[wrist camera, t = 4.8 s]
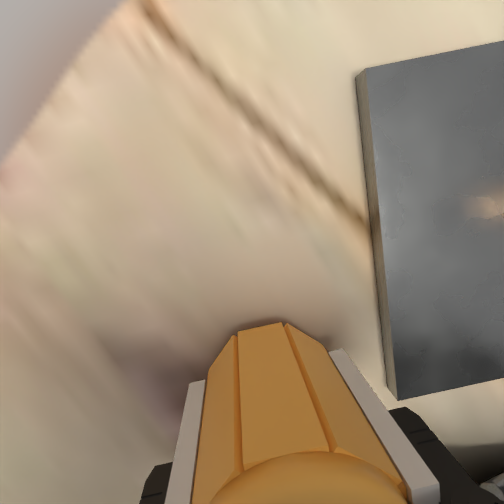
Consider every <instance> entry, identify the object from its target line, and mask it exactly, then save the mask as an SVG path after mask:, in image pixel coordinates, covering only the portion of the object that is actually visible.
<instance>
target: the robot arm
mask: <svg viewBox="0 0 504 504" xmlns="http://www.w3.org/2000/svg"><path fill="white" fill-rule="evenodd" d="M328 355H329V357H330V358H331V360H332V362H333V364H334V365H335V367H336V369H337V370H338V372H339V374H340V375H341V377H342V379H343V381H344V382H345V384H346V386H347V387H348V389H349V391H350V392H351V394H352V396H353V398H354V399H355V401H356V403H357V404H358V406H359V408H360V409H361V411H362V413H363V415H364V416H365V418H366V420H367V421H368V423H369V425H370V426H371V428H372V430H373V432H374V433H375V435H376V437H377V438H378V440H379V442H380V443H381V445H382V447H383V449H384V450H385V452H386V454H387V455H388V457H389V459H390V460H391V462H392V464H393V465H394V467H395V469H396V471H397V472H398V474H399V476H400V477H401V479H402V481H403V483H404V484H405V486H406V491H407V501H408V504H504V501H502V500H500V499H499V498H498V497H497V496H495V495H494V494H493V493H491V492H489V491H487V490H485V489H483V488H481V487H479V486H478V485H477V484H476V483H475V482H474V481H473V480H472V479H471V477H470V476H469V475H468V474H467V473H466V471H465V470H464V469H463V468H462V467H461V465H460V464H459V463H458V462H457V461H456V459H455V458H454V457H453V456H452V455H451V453H450V452H449V451H448V450H447V449H446V447H445V446H444V445H443V444H442V443H441V441H439V440H438V438H437V437H436V435H435V434H434V433H433V432H432V431H430V429H429V427H428V426H427V425H426V424H425V422H424V421H423V420H422V419H421V418H420V416H419V415H417V414H416V413H414V412H413V411H411V410H409V409H408V408H406V407H402V408H397V409H393V410H389V411H387V409H386V408H385V406H384V405H383V404H382V402H381V401H380V399H379V398H378V397H377V395H376V394H375V392H374V391H373V390H372V388H371V387H370V385H369V384H368V383H367V381H366V380H365V378H364V377H363V376H362V374H361V373H360V371H359V370H358V369H357V367H356V366H355V364H354V363H353V362H352V360H351V359H350V357H349V356H348V355H347V353H346V352H345V350H344V349H338V350H334V351H329V352H328ZM206 386H207V384H206V381H205V380H201V381H196V382H192V383H189V388H188V393H187V398H186V402H185V407H184V412H183V417H182V422H181V427H180V431H179V436H178V441H177V446H176V451H175V456H174V460H173V462H170V463H166V464H162V465H157V466H155V467H154V469H153V470H152V472H151V473H150V475H149V477H148V478H147V480H146V482H145V485H144V489H143V492H142V496H141V500H140V503H139V504H192V498H193V490H194V482H195V474H196V466H197V459H198V450H199V442H200V434H201V425H202V417H203V409H204V401H205V394H206Z"/></svg>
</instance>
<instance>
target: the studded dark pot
mask: <svg viewBox="0 0 504 504" xmlns="http://www.w3.org/2000/svg"><path fill="white" fill-rule="evenodd" d="M479 487H481V488H483V489H485V490H487V491H489V492H491V493H493V494H494V495H495V496H497V497H498V498H499V499H500V500H502V501H504V473H501V474H499V475H497V476H495V477H493V478H491V479H489V480H487V481H485V482H484V483H482V484H480V485H479Z"/></svg>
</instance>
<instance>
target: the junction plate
mask: <svg viewBox="0 0 504 504" xmlns="http://www.w3.org/2000/svg"><path fill="white" fill-rule="evenodd" d="M356 88H357V97H358V107H359V117H360V126H361V136H362V145H363V155H364V165H365V174H366V184H367V193H368V203H369V213H370V222H371V232H372V241H373V251H374V260H375V270H376V280H377V289H378V299H379V308H380V318H381V328H382V337H383V347H384V356H385V366H386V376H387V385H388V389H389V390H390V392H391V393H392V394H393V396H394V397H395V398H396V399H397V401H399V400H404V399H409V398H413V397H418V396H422V395H427V394H431V393H436V392H441V391H445V390H450V389H454V388H459V387H463V386H468V385H473V384H477V383H482V382H486V381H491V380H495V379H500V378H504V41H500V42H495V43H490V44H485V45H480V46H475V47H470V48H465V49H460V50H455V51H450V52H445V53H440V54H435V55H430V56H425V57H420V58H415V59H410V60H405V61H400V62H395V63H390V64H385V65H380V66H375V67H371V68H366V69H364V70H363V71H362V72H361V73H360V74H359V75H358V76H357V77H356Z"/></svg>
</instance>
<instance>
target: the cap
mask: <svg viewBox="0 0 504 504" xmlns="http://www.w3.org/2000/svg"><path fill="white" fill-rule="evenodd" d="M192 504H408V501H407V491H406V486H405V484H404V483H403V481H402V479H401V477H400V476H399V474H398V472H397V471H396V469H395V467H394V465H393V464H392V462H391V460H390V459H389V457H388V455H387V454H386V452H385V450H384V449H383V447H382V445H381V443H380V442H379V440H378V438H377V437H376V435H375V433H374V432H373V430H372V428H371V426H370V425H369V423H368V421H367V420H366V418H365V416H364V415H363V413H362V411H361V409H360V408H359V406H358V404H357V403H356V401H355V399H354V398H353V396H352V394H351V392H350V391H349V389H348V387H347V386H346V384H345V382H344V381H343V379H342V377H341V375H340V374H339V372H338V370H337V369H336V367H335V365H334V364H333V362H332V360H331V358H330V357H329V355H328V353H327V351H326V349H325V348H324V347H323V345H322V344H321V343H319V342H318V341H316V340H314V339H313V338H311V337H309V336H308V335H306V334H304V333H303V332H301V331H299V330H298V329H296V328H294V327H293V326H291V325H289V324H288V323H286V325H285V326H284V327H283V324H282V322H280V323H275V324H270V325H266V326H261V327H256V328H252V329H247V330H242V331H238V337H237V336H235V335H232V337H231V338H230V340H229V341H228V342H227V344H226V345H225V347H224V348H223V350H222V351H221V352H220V354H219V355H218V357H217V358H216V360H215V361H214V363H213V364H212V365H211V367H210V368H209V373H208V378H207V386H206V394H205V401H204V409H203V417H202V425H201V434H200V442H199V450H198V459H197V466H196V474H195V482H194V490H193V498H192Z"/></svg>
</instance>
